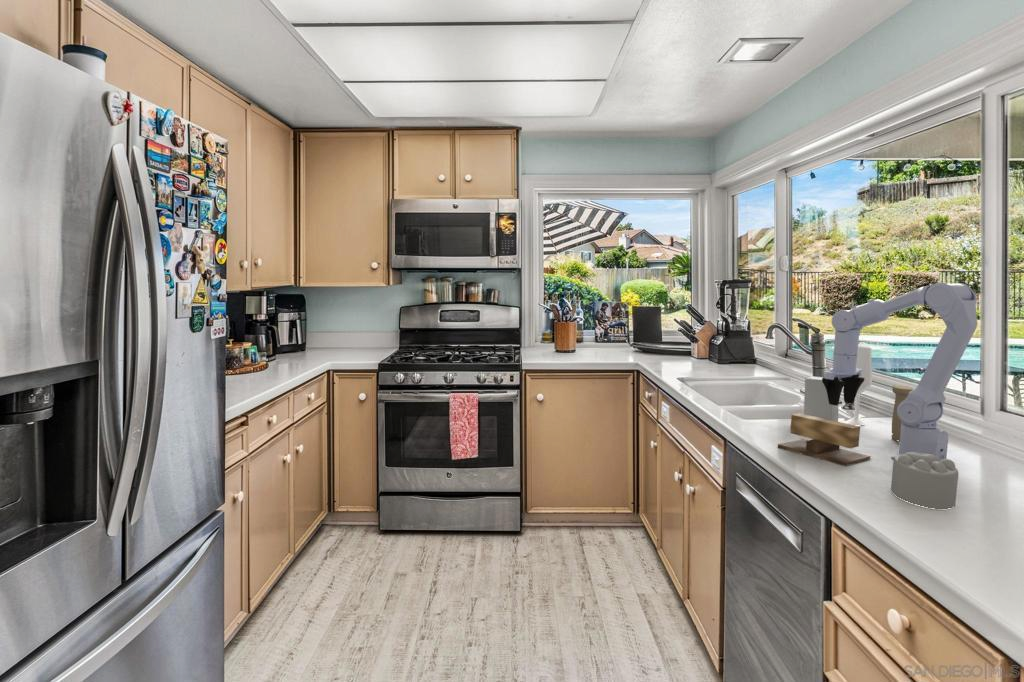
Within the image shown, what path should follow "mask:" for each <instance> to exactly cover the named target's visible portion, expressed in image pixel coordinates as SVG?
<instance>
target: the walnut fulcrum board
mask: <svg viewBox="0 0 1024 682" xmlns="http://www.w3.org/2000/svg"><path fill="white" fill-rule="evenodd" d="M840 447H841V446H839V445H835V444H831V443H827V442H823V441H819V440H815V439H809V440H807V439H804V438H801V439H800V438H799V439H796V440H791V441H787V442H782V443H777V448H779V449H782V448H783V449H782V450H786V451H789V450H790V452H793V451H794V453H797V454H800V453H801V454H800V455H805V456H808V457H810V458H811V457H812V458H815V459H819V460H822V461H825V462H830V463H832V464H833V463H834V464H838V465H841V466H844V467H847V466H851V465H854V464H855V465H856V464H859V463H862V461H863V462H865V460H866V461H869V460H868V459H870V460H871V456H870V455H866V454H863V453H859V452H855V451H851V450H847V449H844V448H840Z"/></svg>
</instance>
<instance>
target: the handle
mask: <svg viewBox="0 0 1024 682" xmlns="http://www.w3.org/2000/svg"><path fill="white" fill-rule="evenodd" d="M914 388H915V387H912V386H909V385H900V384H899V385H897V384H895V385H892V393H893V394H895V399H894V405H893V412H892V416H891V417H892V418H891V433H892V434H891V439H892V440H893V439H894V440H893V441H896V440H900V433H901V422H902V421H901V420H900V419H899V417H898V415H897V407H898V405H899V404H900V403H901V402H902V401H904V400H905V399H906V398H907V396H908V394H909V393H910V392H911V391H912V390H913V389H914Z"/></svg>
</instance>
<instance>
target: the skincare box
mask: <svg viewBox="0 0 1024 682" xmlns="http://www.w3.org/2000/svg"><path fill="white" fill-rule="evenodd" d="M822 378H824V377H823V376H813V375H811V376H808V377H806V378H804V396H803V397H804V399H803V400H804V402H803V404H804V405H803V414H805V415H809V416H814V417H818V418H823V419H828V420H832V421H837V422H839V405H840V403H839V404H838V405H837V406H836V405H831V404H829V400H828V395H827V391H826V388H825V386H824V384H823V382H822Z"/></svg>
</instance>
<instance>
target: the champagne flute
mask: <svg viewBox="0 0 1024 682" xmlns="http://www.w3.org/2000/svg"><path fill="white" fill-rule="evenodd" d="M856 368H857V369H862V374H861V376H859V377H863V378H864V382H863V383H862V384H861V386H860V387H859V389H858V391H857V394H856V397H855V400H854V404H855V405H854V414H853V415H854V416H853V417H852V418H850V419H847V420H845V421H843V423H846V424H851V425H865V424H867V423H866V422H864V421H863V420H862V419H860V418H859V416H860V415H859V414H860V403H861V402H860V401H861V394H862V393H863V392H865V391H867V390H868V389H870V388H871V386H872V385H873V384H872V383H873V379H872V378H873V375H872V373H873V371H872V368H873V367H872V347H871V346H866V345H858V353H857V365H856Z"/></svg>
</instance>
